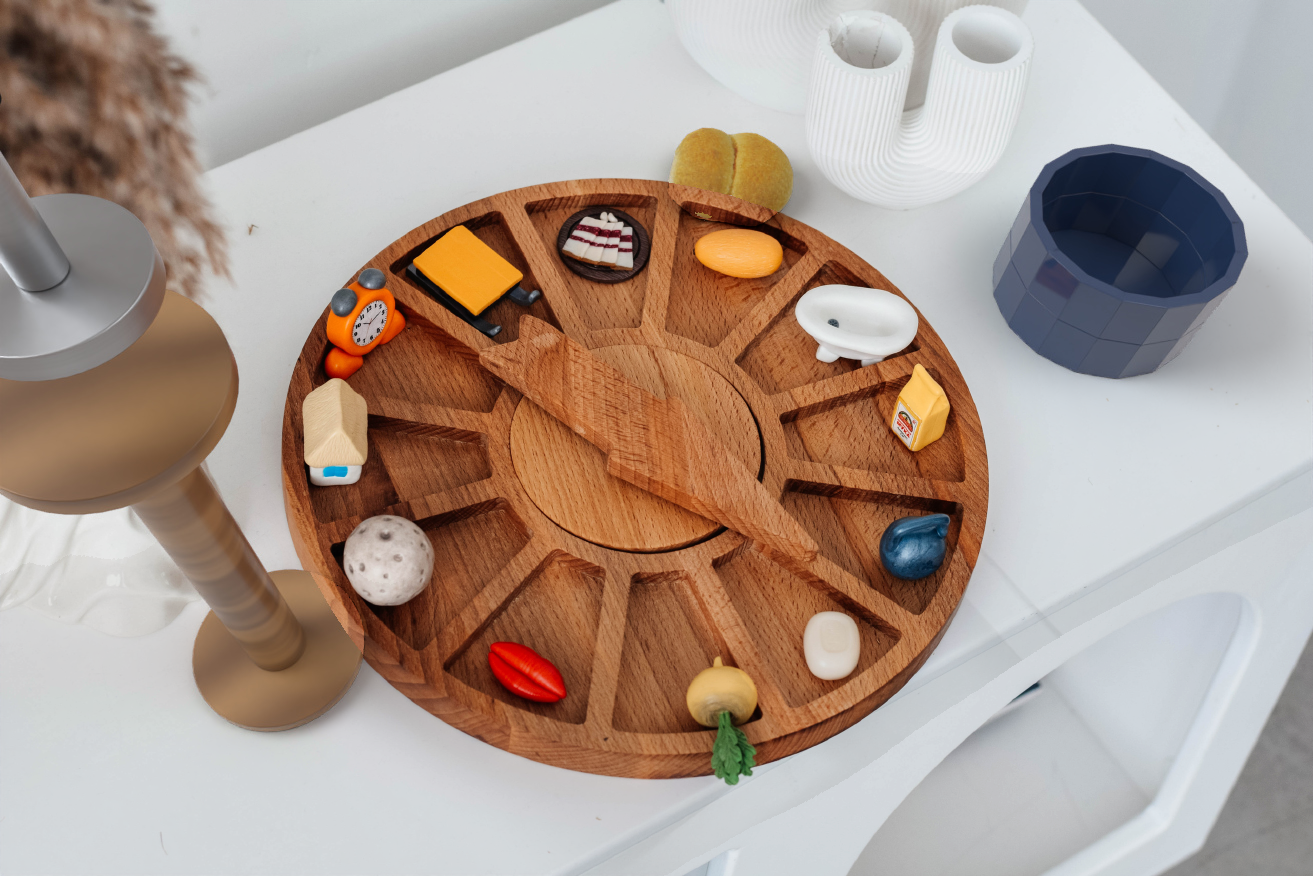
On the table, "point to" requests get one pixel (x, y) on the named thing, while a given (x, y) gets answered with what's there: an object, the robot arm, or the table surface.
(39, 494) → the cake stand
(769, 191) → the bread roll
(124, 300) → the masher
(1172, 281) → the pot
